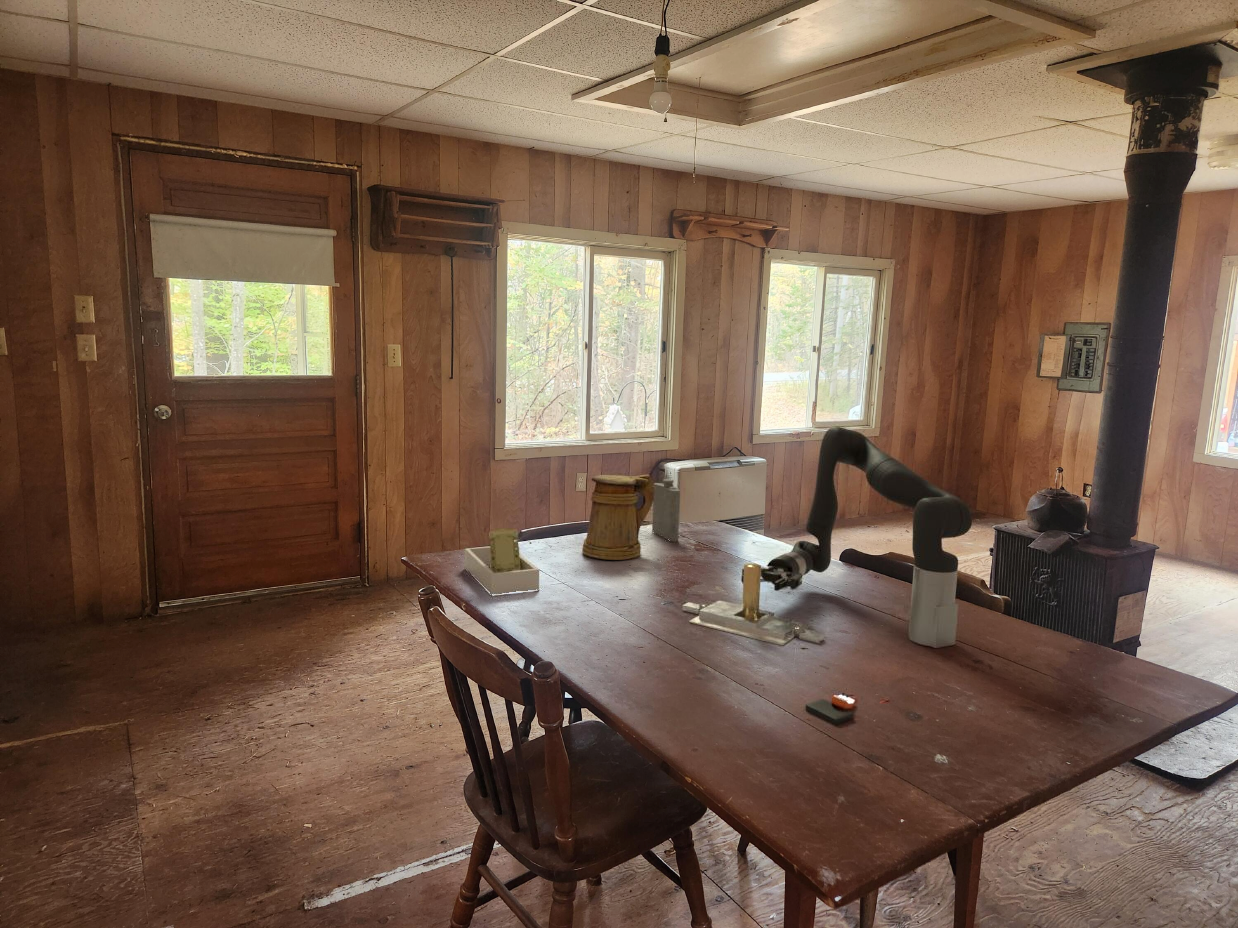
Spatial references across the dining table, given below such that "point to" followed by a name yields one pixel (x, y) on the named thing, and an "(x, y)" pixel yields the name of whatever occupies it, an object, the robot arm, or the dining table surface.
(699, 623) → the peg-in-hole plate
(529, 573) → the parts tray
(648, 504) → the tankard
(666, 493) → the hip flask
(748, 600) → the pin
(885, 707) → the dining table surface
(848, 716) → the multimeter
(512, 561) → the mechanical component
